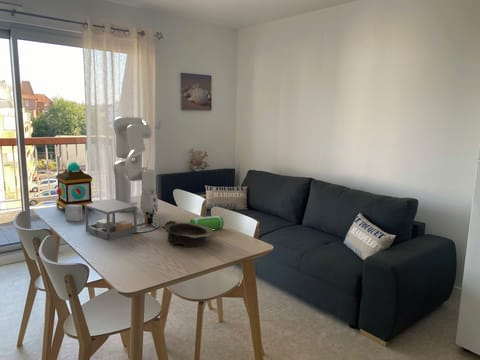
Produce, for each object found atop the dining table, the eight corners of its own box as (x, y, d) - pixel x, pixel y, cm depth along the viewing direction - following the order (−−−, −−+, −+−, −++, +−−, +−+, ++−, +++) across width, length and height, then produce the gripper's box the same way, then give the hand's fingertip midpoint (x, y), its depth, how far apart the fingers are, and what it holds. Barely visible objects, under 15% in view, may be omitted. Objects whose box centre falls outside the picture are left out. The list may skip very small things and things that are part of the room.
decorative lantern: (85, 203, 245) (83, 159, 239) (97, 210, 231) (95, 163, 225) (53, 207, 231) (51, 161, 226) (64, 215, 217) (61, 165, 212)
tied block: (147, 223, 207) (147, 213, 206) (154, 225, 204) (154, 215, 202) (115, 231, 191) (115, 220, 190) (122, 234, 187) (122, 223, 186)
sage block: (106, 227, 198) (106, 218, 197) (113, 229, 194) (113, 220, 193) (96, 230, 193) (96, 221, 192) (103, 232, 190) (103, 223, 189)
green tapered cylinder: (218, 226, 208) (219, 213, 206) (223, 230, 201) (224, 217, 200) (189, 229, 200) (189, 216, 198) (193, 233, 193) (193, 220, 192)
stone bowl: (151, 244, 175) (152, 225, 174) (182, 234, 197) (183, 217, 196) (193, 254, 164) (194, 234, 163) (221, 242, 186) (223, 224, 185)
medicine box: (82, 219, 210) (82, 205, 208) (78, 221, 205) (78, 207, 204) (69, 218, 210) (69, 204, 209) (65, 220, 206) (64, 206, 204)
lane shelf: (114, 224, 204) (113, 199, 201) (136, 232, 192) (136, 206, 189) (85, 231, 190) (84, 204, 188) (108, 240, 179) (107, 212, 176)
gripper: (163, 192, 199) (163, 225, 202) (145, 188, 208) (145, 219, 212) (152, 194, 193) (152, 228, 197) (134, 190, 203) (134, 222, 206)
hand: (148, 223), depth 204 cm, fingers closed on tied block, 1 cm apart
